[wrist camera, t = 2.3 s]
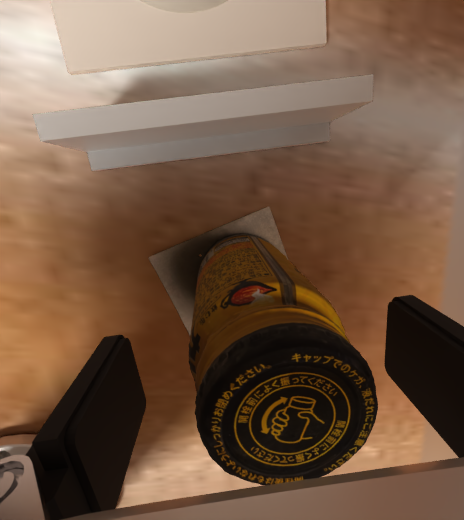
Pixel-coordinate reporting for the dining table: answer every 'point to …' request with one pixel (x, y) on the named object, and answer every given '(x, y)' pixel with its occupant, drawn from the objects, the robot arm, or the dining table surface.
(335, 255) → the dining table surface
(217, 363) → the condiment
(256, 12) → the pad
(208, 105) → the low wall
